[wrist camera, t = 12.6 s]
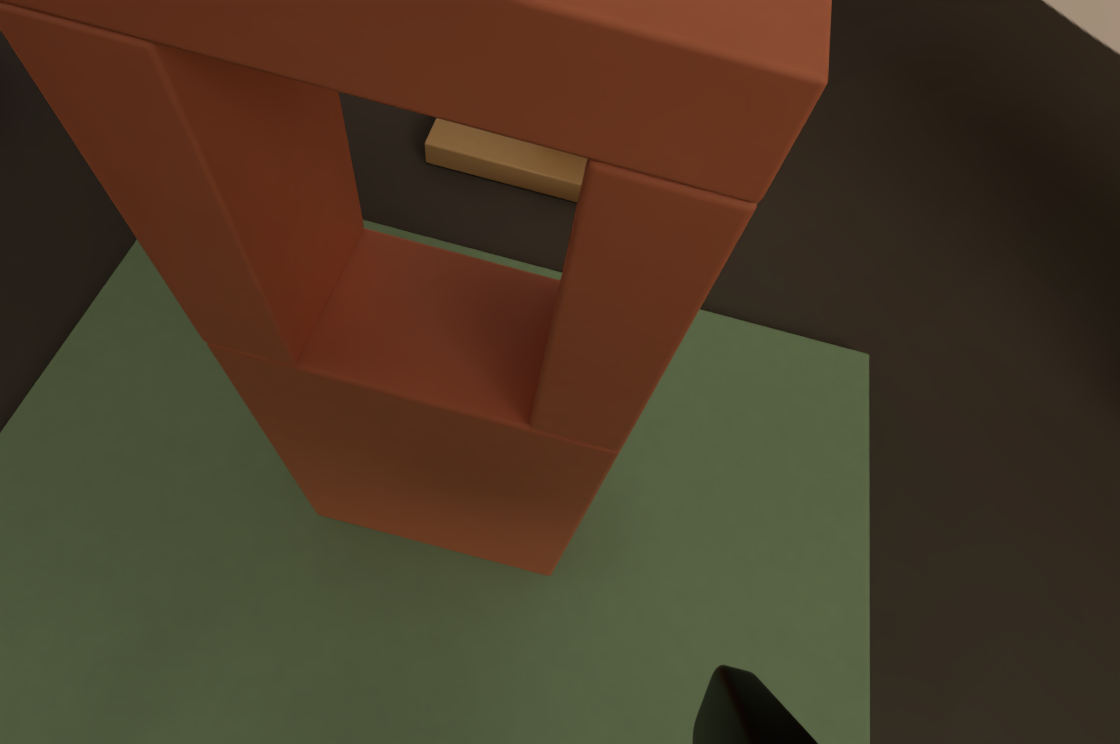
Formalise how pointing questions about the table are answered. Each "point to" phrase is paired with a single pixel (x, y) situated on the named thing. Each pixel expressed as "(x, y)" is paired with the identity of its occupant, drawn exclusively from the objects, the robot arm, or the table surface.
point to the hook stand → (505, 159)
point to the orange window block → (422, 270)
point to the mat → (422, 560)
